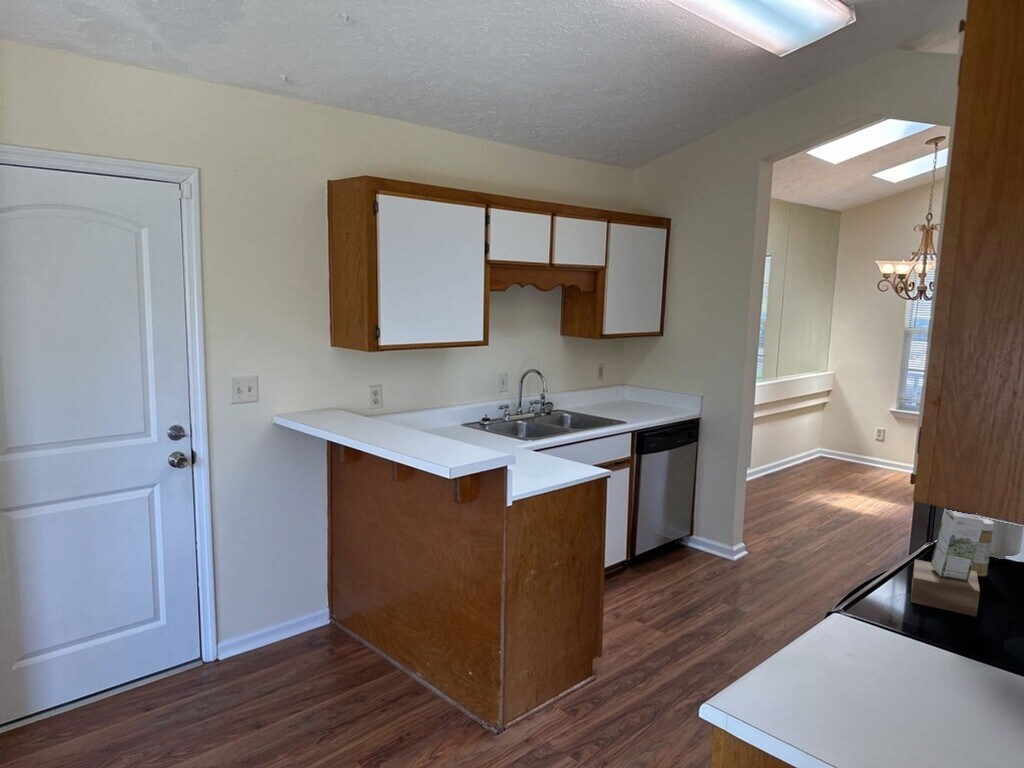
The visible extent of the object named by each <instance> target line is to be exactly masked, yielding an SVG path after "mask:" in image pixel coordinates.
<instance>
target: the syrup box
mask: <svg viewBox="0 0 1024 768" xmlns="http://www.w3.org/2000/svg"><path fill="white" fill-rule="evenodd" d="M983 523H984V521H983V520H982V519H981V517H980V515H979V516H977V515H973V514H968V513H962V512H957V511H952V510H947V509H945V508H944V510H943V514H942V518H941V521H940V525H939V529H938V534H937V538H936V543H935V546H934V551H933V554H932V557H931V566H932V567H933V568H934V569H935V571H936V572H937V573H938V574H939V575H940V576H942V577H947V578H953V579H959V580H966V581H968V580H969V576H970V572H971V569H972V565H973V561H974V557H975V553H976V550H977V546H978V542H979V538H980V535H981V531H982V527H983Z"/></svg>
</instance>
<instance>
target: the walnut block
mask: <svg viewBox="0 0 1024 768" xmlns="http://www.w3.org/2000/svg"><path fill="white" fill-rule="evenodd" d="M913 562H914V564H913V570H912V579H911V595H910V602H911V603H914V604H919V605H923V606H927V607H932V608H937V609H941V610H944V611H950V612H952V613H953V612H954V613H959V614H962V615H967V616H970V617H971V616H972V617H975V618H976V617H978V610H979V602H980V601H979V600H980V594H981V590H980V589H981V588H980V584H979V579H978V577H979V576H977V571H972V570H971V572H970V576H969V580H968V581H966V580H959V579H953V578H947V577H942V576H940V575H939V574H938V573H937V572H936V571H935V569H934V568H933V567H932V566H931V562H932V561H931V562H930V561H926V560H922V559H921V560H920V559H914V561H913Z"/></svg>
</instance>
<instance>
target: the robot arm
mask: <svg viewBox="0 0 1024 768" xmlns="http://www.w3.org/2000/svg"><path fill="white" fill-rule="evenodd" d="M981 518H983V517H981ZM984 519H986V518H984ZM988 520H991V519H988ZM991 521H993V522H994V530H993V532H992V539H991V550H990V556H991V557H995V558H998V559H1005V558H1006V557H1005V556H1014V555H1017V554H1019V553H1020V550H1022V549H1021V548H1022V542H1023V535H1024V526H1019V525H1014V524H1009V523H1004V522H1000V521H996V520H991ZM993 555H994V556H993Z"/></svg>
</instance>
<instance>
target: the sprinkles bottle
mask: <svg viewBox="0 0 1024 768" xmlns="http://www.w3.org/2000/svg"><path fill="white" fill-rule="evenodd" d="M981 519H982V520H983V521H984V523H983V527H982V531H981V535H980V538H979V542H978V546H977V550H976V553H975V557H974V561H973V565H972V569H971V570H972V571H977V577H986V576H987V575H988V570H989V569H988V566H989V563H990V559H989V557H990V550H991V539H992V532H993V530H994V522H993V521H991V520H988V519H984V518H981Z"/></svg>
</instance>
